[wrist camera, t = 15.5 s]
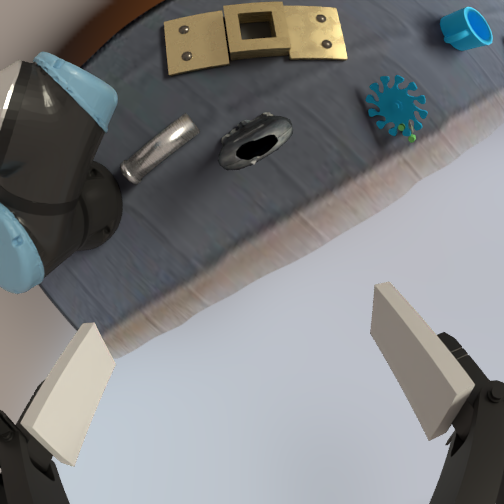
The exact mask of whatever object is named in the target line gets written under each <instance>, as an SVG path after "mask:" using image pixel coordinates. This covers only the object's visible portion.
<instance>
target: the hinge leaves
mask: <svg viewBox="0 0 504 504" xmlns="http://www.w3.org/2000/svg"><path fill="white" fill-rule="evenodd" d="M223 7H224V15H225V22H226V29H227V36H228V43H229V50H230V57H231V60H238V59H247V58H257V57H270V56H287V55H288V53H289V59H290V60H347V54H346V49H345V44H344V39H343V35H342V30H341V26H340V22H339V18H338V14H337V10H336V8H330V7H315V6H283V3H282V2H260V3H247V4H236V5H228V6H223ZM267 21H269V24H270V29H271V35H272V38H259V39H248V40H242V39H241V32H240V26H239V24H242V23H253V22H267ZM164 29H165V41H166V52H167V62H168V72H169V75H170V76H174V75H178V74H183V73H188V72H193V71H198V70H203V69H209V68H215V67H221V66H228V65H230V64H229V57H228V50H227V43H226V36H225V29H224V22H223V15H222V11H216V12H209V13H204V14H198V15H193V16H188V17H183V18H179V19H175V20H170V21H166V22H164Z"/></svg>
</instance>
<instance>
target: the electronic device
mask: <svg viewBox="0 0 504 504" xmlns="http://www.w3.org/2000/svg"><path fill="white" fill-rule="evenodd" d="M237 126H238V127H239V130H237V131H236V128H234V129H233V130H232V131H231V132H230V133H229V134H227V135H225V136H223V137H222V141H221V142H222V145H223V148H222V150H221V153H220V154H219V160H218V161H219V164H220V166H222V167H223V168H224V169H226V170H239V169H242V168H245V167H247V166H251V165H253V164H255V163H256V162H258V161H259V160H262V159H263V158H265V157H266V156H268V155H270V154H271V153H273V152H274V151H276V150H278V149H279V148H280V147H281V146H282V145H283V144H284V143H285V142H286V141H287V140H288V139H289V138H290V137H291V135H292V134H293V128H292V123H291V121H290V120H289V119H287V118H285V117H281V116H273V114H270V113H269V112H268V113H262V115H261V116H259V117H257V118H256V119H254V120H252V121H249V120H245V121H242V122H240V123H239V124H238V125H237ZM246 142H248V143H247V144H246V145H244V146H243V147H241V148H239V147H240V146H241V145H242V144H244V143H246ZM238 148H239V149H238Z"/></svg>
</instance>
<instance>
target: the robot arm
mask: <svg viewBox="0 0 504 504" xmlns="http://www.w3.org/2000/svg"><path fill="white" fill-rule="evenodd" d="M33 61H34V63H28V62H25V61H21V60H18V61H16V62H15V63H13V64H11V65H10V66H8V67H7V68H5V69H4V70H1V71H0V287H1V288H3V289H4V290H7V291H9V292H11V293H15V294H19V293H24V292H27V291H28V290H30V289H31V288H32V287H34V286H36V285H38V284H40V283H41V282H42V281H43V279H44V278H45V277H46V276H47V275H48V274H49V273H50V272H52V271H53V270H54V269H55V268H56V267H57V266H59V265H60V264H61V263H62V262H63V261H65V260H66V259H67V258H68V257H70V256H71V255H72V254H73V253H74V252H76V251H81V250H89V249H93V248H96V247H98V246H100V245H102V244H103V243H104V242H106V241H107V240H108V239H109V238H110V237H111V236H112V235H113V234H114V233H115V231H116V230H117V228H118V226H119V223H120V220H121V216H122V196H121V191H120V188H119V186H118V183H117V181H116V180H115V178H114V176H113V175H112V174H111V172H110V171H109V170H108V169H107V168H105V167H104V166H103V165H101V164H99V163H97V162H95V161H93V159H94V157H95V154H96V152H97V149H98V147H99V145H100V143H101V140H102V138H103V136H104V134H105V133H107V131H108V127H107V126H108V124H109V121H110V119H111V117H112V114H113V112H114V110H115V108H116V106H117V102H118V97H117V93H116V91H115V90H114V89H113V88H112V87H111V86H110V85H108V84H107V83H105V82H104V81H102V80H100V79H99V78H97V77H95V76H94V75H92V74H90V73H88V72H87V71H85V70H83V69H81V68H79V67H77V66H75V65H73V64H71V63H69V62H66V61H64V60H62V59H60V58H58V57H56V56H54V55H52V54H50V53H46V52H41V53H39V54H38V55H37V56H36V57H35V58H34V60H33ZM370 334H371V335H372V337H373V339H374V340H375V342H376V344H377V346H378V347H379V349H380V351H381V352H382V354H383V356H384V358H385V359H386V361H387V363H388V364H389V366H390V368H391V370H392V371H393V373H394V375H395V377H396V379H397V381H398V382H399V384H400V386H401V388H402V390H403V392H404V393H405V395H406V397H407V399H408V401H409V403H410V405H411V407H412V408H413V410H414V412H415V414H416V416H417V418H418V420H419V422H420V424H421V426H422V428H423V430H424V432H425V434H426V436H427V438H428V440H429V441H430V440H432V439H434V438H436V437H438V436H440V435H442V434H444V433H446V432H447V430H448V429H449V427H450V426H451V424H452V425H453V427H454V428H455V431H454V432H453V434H452V435H451V436H450V438H449V439H448V441H447V443H446V445H448V444H449V443H450V442H451V443H450V447H449V450H448V454H447V457H446V460H445V463H444V466H443V469H442V472H441V475H440V478H439V481H438V483H437V486H436V489H435V491H434V494H433V496H432V499H431V501H430V503H429V504H495V503H496V504H504V383H503V382H500V381H497V380H496V381H490V380H489V379H488V378H487V377H486V376H485V374H484V373H483V372H482V370H481V369H480V368H479V367H478V365H477V364H476V363H475V362H474V361H473V359H472V358H471V357H470V356H469V355H468V354H467V352H466V351H465V350H464V349H462V346H461V345H460V344H459V343H458V341H457V340H456V339H455V338H454V337H452V336H450V335H448V334H447V333H445V332H443V333H440V334H438V335H436V334H435V333H434V331H433V330H432V329H431V328H430V327H429V326H428V325H427V323H426V322H425V321H424V320H423V319H422V317H421V316H420V315H419V314H418V313H417V312H416V311H415V309H414V308H413V307H412V306H411V305H410V304H409V303H408V302H407V300H406V299H405V298H404V297H403V296H402V295H401V294H400V293H399V292H398V290H396V288H395V287H394V286H393V285H392V284H391V283H390V282H386V283H381V284H376V285H375V286H374V300H373V311H372V321H371V330H370ZM115 365H116V363H115V362H114V360H113V358H112V356H111V354H110V352H109V351H108V349H107V347H106V345H105V343H104V341H103V339H102V337H101V335H100V333H99V331H98V329H97V327H96V325H95V323H83V324H82V326H81V327H80V328H79V330H78V331H77V333H76V334H75V335H74V337H73V338H72V340H71V341H70V343H69V344H68V346H67V347H66V348H65V350H64V352H63V353H62V354H61V356H60V358H59V359H58V361H57V362H56V364H55V365H54V367H53V368H52V370H51V371H50V373H49V375H48V376H47V378H46V379H45V380H44V381H43V382H42V383H41V384H40V385H39V386H38V387H37V389H36V390H35V392H34V395H33V396H32V397H31V399H30V402H29V403H28V404H27V406H26V408H25V409H24V411H23V413H22V415H21V416H20V419H19V420H18V422H17V424H16V425H15V424H14V423H13V422H12V421H11V420H10V419H9V418H8V416H7V415H6V414H5V413H4V412H3V411H1V410H0V468H1V471H2V472H1V473H0V504H70V503H69V501H68V498H67V496H66V493H65V491H64V488H63V485H62V483H61V480H60V477H59V474H58V471H57V468H56V465H55V463H54V462H53V461H52V460H51V459H52V456H54V457H55V458H57V459H58V460H59V461H60V462H61V463H64V464H67V465H70V466H75V463H76V460H77V458H78V455H79V452H80V449H81V446H82V444H83V441H84V439H85V436H86V433H87V431H88V428H89V426H90V423H91V421H92V418H93V416H94V413H95V411H96V409H97V406H98V404H99V401H100V399H101V397H102V394H103V392H104V390H105V387H106V385H107V383H108V381H109V378H110V376H111V374H112V372H113V370H114V367H115Z"/></svg>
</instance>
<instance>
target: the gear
mask: <svg viewBox="0 0 504 504" xmlns="http://www.w3.org/2000/svg"><path fill="white" fill-rule="evenodd" d="M380 80H381V81H382V83H383V86H384V92H383V93H380V92H379V85H378V84H377V83H373V84H371V85H370V89H371V90H373V91H374V92H376V94H377V95H378V97H379V101H378V102H377V101H375V99H374V97H373V96H372V95H370V94H369V95H368V96H367V97H366V102H368V103H373V104H375V105H377V106H378V107H379V108H380V112H377V111H376V110H375V109H373V108H371V109H369V110H368V113H369V116H370V117H373V116H375V115H381V116H384V117H385V118H386V121H382V120H379V121H378V122H376V124H377V126H378V127H379V129H382V128H383V127H384V126H385V125H386V124H387V123H389V122H393V123H394V124H395V127H393V128H391V129H390V130H389V134H391V135H393V136H396V134H397V129H399V130H400V131H403V132H402V134H403V135H404V136H409V138H408V140H409V142H411V143H412V142H414V141H415V139H416V137H415V135H413V127H412V125H411V123H410V119H412V120H413V121H414V129H415V130H416V131H417V130H420V129H421V128H422V124H421V123H420V122H418V121H417V119H416V118H415V115H414V111H418V112H419V114H420V117H421V118H422V119H425V118H426V116H427V114H428V112H427V111H426V110H422V109H419V108H418V107H416V106H415V105H414V103H413V101H414V100H417V101H418V102H419V103H421V104H425V96H424V95H420V96H418V97H413V96H410V95H408V93H407V91H408V90H413V91H415V90H417V86H416V85H415V83H414V82H411V83H409V85H408V87H407V88H405V89H399V88H398V84H399V83H402V82H403V81H404V78H403V77H401V76H399V75H396V76H395V84H394V86H393V87H392V88H391V89H390V88H388V86H387V83H388V82H389V80H390V78H389V77H388V76H382V77H380Z"/></svg>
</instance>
